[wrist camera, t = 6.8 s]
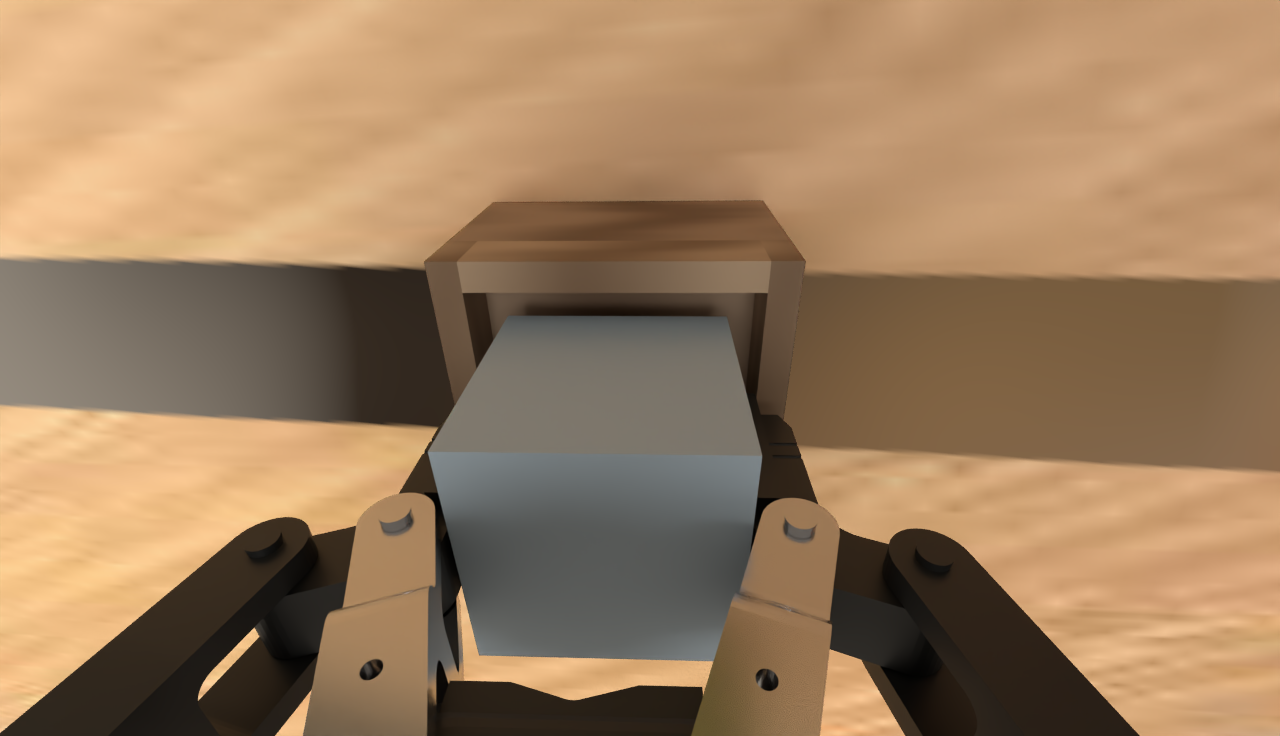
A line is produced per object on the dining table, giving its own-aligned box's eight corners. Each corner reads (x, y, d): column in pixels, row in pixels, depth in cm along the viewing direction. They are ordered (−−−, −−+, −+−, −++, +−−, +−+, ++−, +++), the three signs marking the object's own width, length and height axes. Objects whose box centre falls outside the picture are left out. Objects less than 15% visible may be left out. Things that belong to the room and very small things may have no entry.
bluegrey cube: (726, 316, 12) (762, 456, 8) (714, 485, 15) (736, 662, 11) (508, 315, 13) (428, 451, 8) (531, 482, 15) (479, 655, 11)
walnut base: (762, 200, 16) (805, 261, 11) (741, 424, 20) (766, 539, 15) (493, 202, 16) (424, 261, 12) (524, 422, 20) (482, 534, 16)
